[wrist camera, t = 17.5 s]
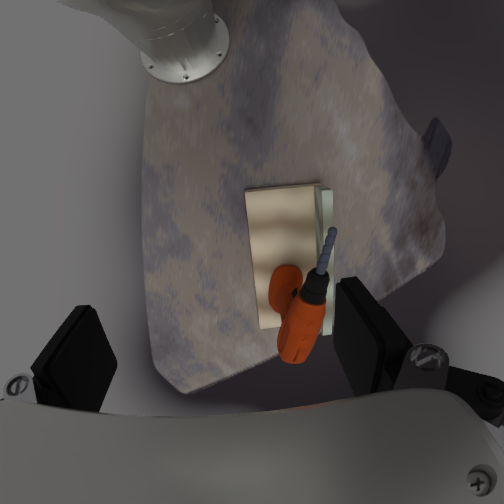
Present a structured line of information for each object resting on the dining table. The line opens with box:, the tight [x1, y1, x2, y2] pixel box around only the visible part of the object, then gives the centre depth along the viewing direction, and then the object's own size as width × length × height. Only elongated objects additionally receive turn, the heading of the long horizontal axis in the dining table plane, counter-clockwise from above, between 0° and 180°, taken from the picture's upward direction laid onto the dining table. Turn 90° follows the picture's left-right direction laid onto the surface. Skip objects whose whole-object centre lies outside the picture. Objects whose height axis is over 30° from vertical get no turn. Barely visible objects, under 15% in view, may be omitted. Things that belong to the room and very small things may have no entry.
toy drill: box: [268, 227, 337, 364], centre depth 36 cm, size 5×19×15 cm, turn 171°
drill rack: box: [244, 183, 334, 335], centre depth 42 cm, size 22×11×6 cm, turn 6°
